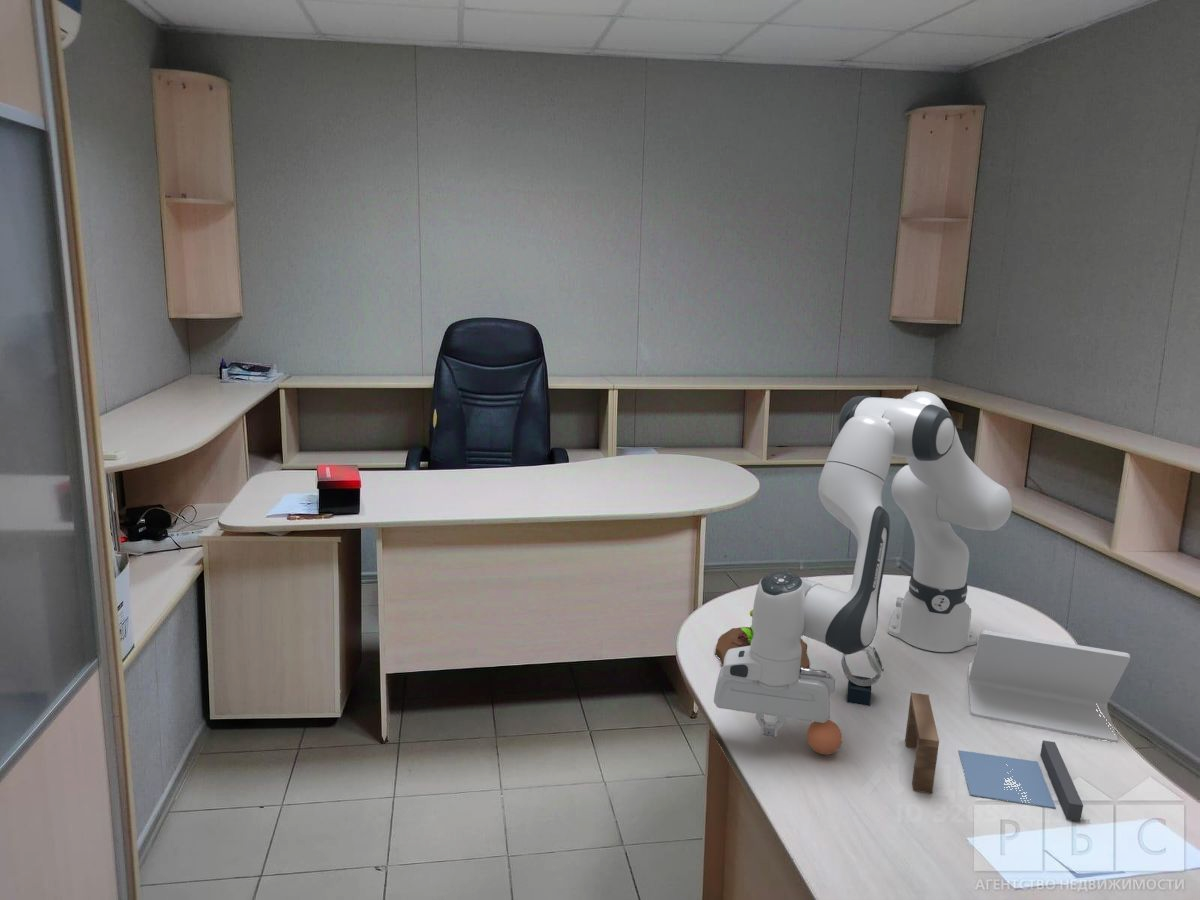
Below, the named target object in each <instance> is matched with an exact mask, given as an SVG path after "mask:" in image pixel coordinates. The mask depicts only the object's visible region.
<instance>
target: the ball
mask: <svg viewBox="0 0 1200 900" xmlns="http://www.w3.org/2000/svg"><path fill="white" fill-rule="evenodd" d="M806 739H807V742H808V745H809V747H810V748H811V749H812V750H813V751H815V752H816V753H818V754H819V755H820V754H821V755H831V754H834V753H835V752H837V750H839V748H840V746H842V745H841V744H842V741H843V734H842V730H841V728H840V727H839V726H838V724H837V723H835V721H833V720H830V719H829V720H828V721H826V722H825V723H820V722H813V721H812V723H811V724H810V725H809V726H808V728H807V730H806Z"/></svg>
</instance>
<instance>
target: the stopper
mask: <svg viewBox="0 0 1200 900" xmlns="http://www.w3.org/2000/svg"><path fill="white" fill-rule="evenodd" d="M1039 756H1040V758H1041V761H1042V763H1043V765H1044V768H1045V770H1046V772H1047V776H1048V778H1049V780H1050V783H1051V785H1052V788H1053V790H1054V793H1055V796H1056V797H1057V799H1058V802H1059V805H1060V808H1061V810H1062V812H1063V814H1064V815H1063V816H1064V817H1065V819H1066V820H1067V821H1072V822H1079V823H1080V822H1081V819H1082V814H1083V809H1084V804H1083V802H1082V799H1081V797H1080V795H1079V793H1078V790H1077V788H1076V786H1075V784H1074V782H1073V779H1072V777H1071V775H1070V773H1069V771H1068V768H1067V765H1066V763H1065V762H1064V759H1063V757H1062V755H1061V753H1060V751H1059V748H1058V745H1057V743H1056V742H1055V741H1051V740H1042V741H1041V749H1040V755H1039Z"/></svg>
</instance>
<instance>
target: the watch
mask: <svg viewBox="0 0 1200 900" xmlns="http://www.w3.org/2000/svg"><path fill="white" fill-rule="evenodd" d="M862 651H863V652H865V654H866V655H867V658H868V661H869V664H870V666H871V668H872V670H873V671H874V672H875V673H876V675H874V676H873V677H866V676H860V675H853V674H852V672H851V670H850V669H849V666H848V664H847V660H846V657H847V655H846V654H843V653H842V656H841V662H840V663H841V668H842V672H843V674H844V676H845V677H846V679H847V689H846V690H847V693H846V694H847V695H846V704H847V703H848V704H854V705H860V706H867V707H870V706H871V701H872V685H875V684H876V683H878V682H879V680H880V679H881V677H882V673H883V672H884V669H885V668H884V665H883V662H882V659H881V656H880V654H879V652H878V650H877V649H876V648H875V646H873V647H872V646H871V645H869V646H868V647H867V648H865V649H863V650H862Z"/></svg>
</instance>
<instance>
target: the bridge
mask: <svg viewBox="0 0 1200 900" xmlns="http://www.w3.org/2000/svg"><path fill="white" fill-rule="evenodd" d="M908 705H909V706H908V711H907V712H908V713H907V714H908V715H907V720H906V728H905V729H906V730H905V736H904V737H905V738H904V744H905V747H907V748H912V749H915V758H914V763H913V765H914V766H913V772H912V778H911V780H912V781H911V786H912V787H911V788H912V791H915V792H920V793H921V792H922V793H926V794H927V793H929V794H933V790H934V789H933V788H934V784H935V783H934V782H935V775H936V769H937V759H938V755H939V754H938V752H939V744H940V739H939V734H938V730H937V726H936V721H935V717H934V712H933V709H932V708H933V707H932V703H931V700H930V696H929V694H926V693H918V692H910V697H909V704H908Z"/></svg>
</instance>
